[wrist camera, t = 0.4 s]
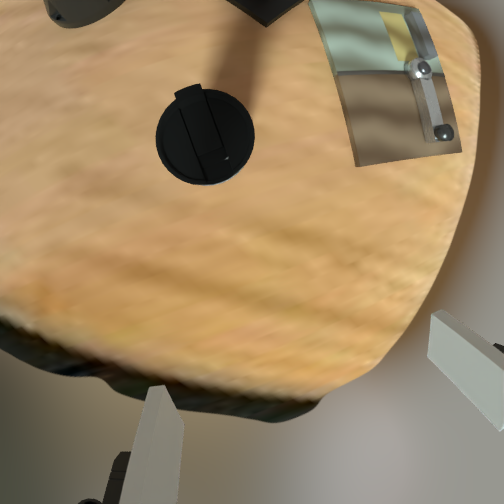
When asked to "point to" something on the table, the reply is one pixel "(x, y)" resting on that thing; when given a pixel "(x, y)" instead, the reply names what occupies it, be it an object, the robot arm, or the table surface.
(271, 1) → the figurine
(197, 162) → the travel mug
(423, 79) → the bar
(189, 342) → the table surface
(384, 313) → the table surface
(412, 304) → the table surface
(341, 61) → the door board
